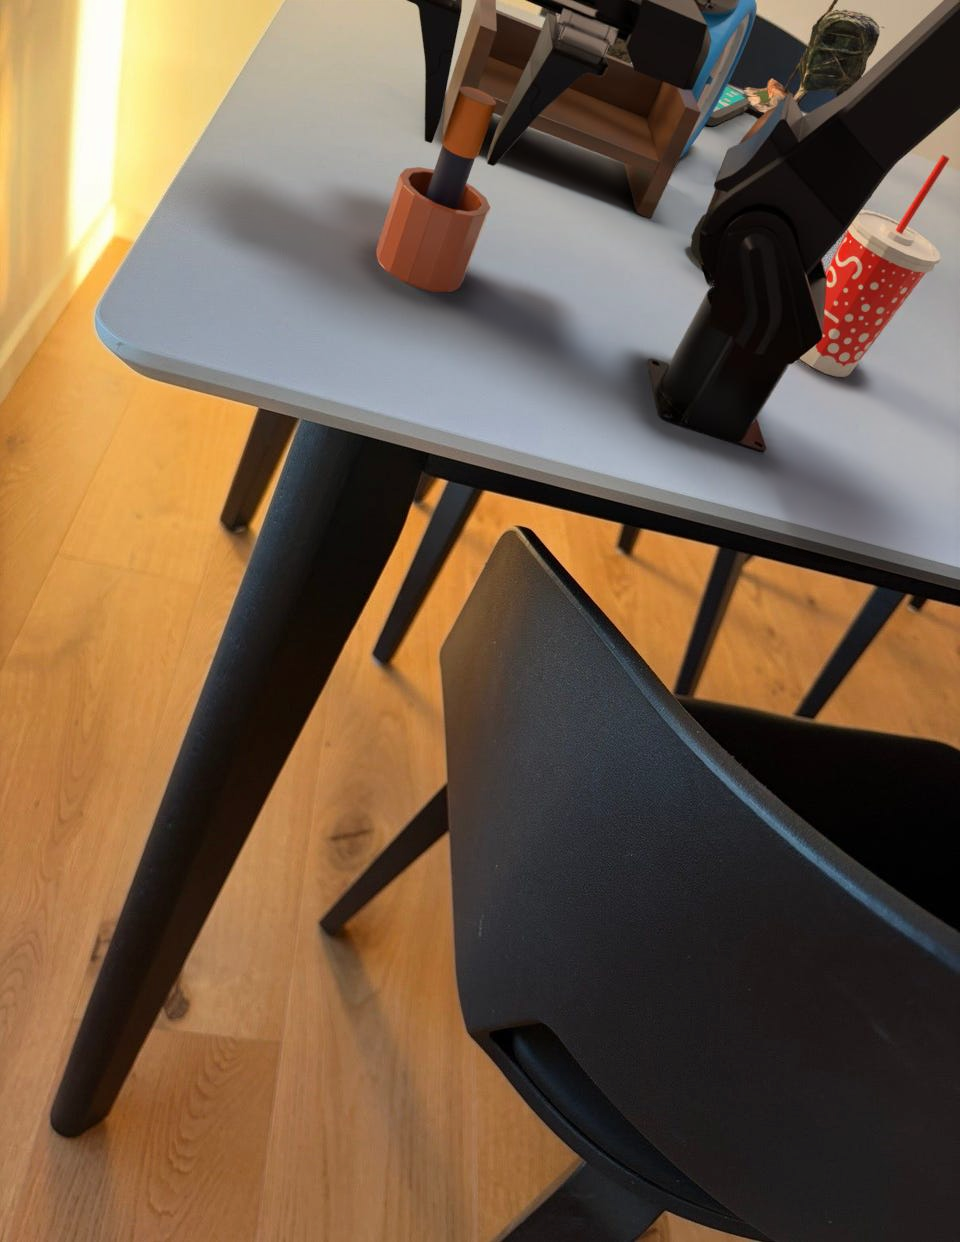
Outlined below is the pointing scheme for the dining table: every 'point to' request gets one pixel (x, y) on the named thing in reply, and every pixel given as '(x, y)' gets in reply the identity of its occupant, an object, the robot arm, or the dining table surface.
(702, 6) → the alarm clock
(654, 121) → the shelf
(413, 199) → the pen cup
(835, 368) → the beverage cup
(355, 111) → the dining table surface
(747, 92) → the plant with pod
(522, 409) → the dining table surface
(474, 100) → the marker
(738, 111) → the smartphone
